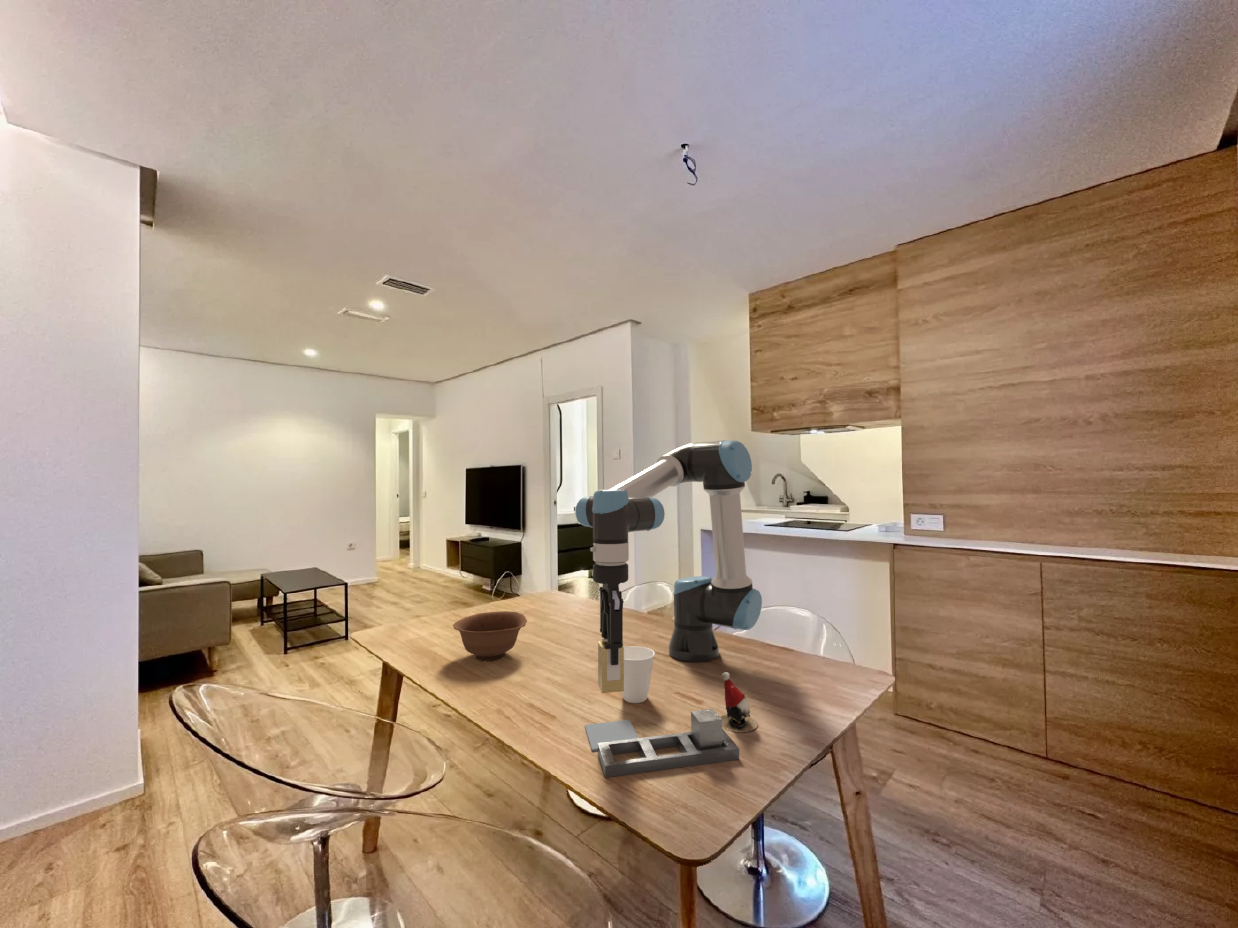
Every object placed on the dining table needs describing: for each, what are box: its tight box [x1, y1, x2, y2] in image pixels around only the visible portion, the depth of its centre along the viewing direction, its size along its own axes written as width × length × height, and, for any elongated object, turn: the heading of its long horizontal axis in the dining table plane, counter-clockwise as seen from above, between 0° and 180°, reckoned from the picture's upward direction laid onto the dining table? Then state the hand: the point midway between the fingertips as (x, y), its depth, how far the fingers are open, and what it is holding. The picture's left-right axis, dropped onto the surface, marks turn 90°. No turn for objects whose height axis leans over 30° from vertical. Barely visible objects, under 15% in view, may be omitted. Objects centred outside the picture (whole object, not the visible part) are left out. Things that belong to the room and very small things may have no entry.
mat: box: [584, 719, 639, 752], centre depth 102 cm, size 10×10×1 cm
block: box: [690, 708, 723, 751], centre depth 96 cm, size 5×5×7 cm
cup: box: [621, 645, 656, 704], centre depth 120 cm, size 10×10×11 cm
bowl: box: [452, 610, 528, 663], centre depth 150 cm, size 22×22×11 cm
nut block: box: [597, 640, 625, 694], centre depth 103 cm, size 5×5×9 cm
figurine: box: [719, 671, 759, 734], centre depth 107 cm, size 8×10×12 cm
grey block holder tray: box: [597, 728, 740, 778], centre depth 94 cm, size 26×8×2 cm, turn 102°
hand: (610, 674), depth 103 cm, fingers closed on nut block, 5 cm apart
